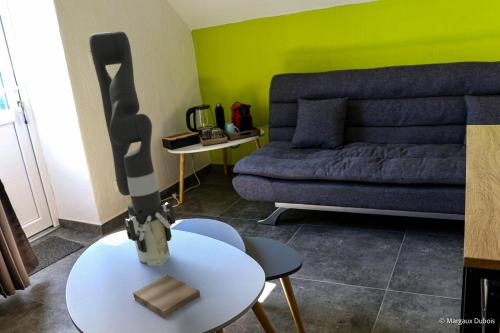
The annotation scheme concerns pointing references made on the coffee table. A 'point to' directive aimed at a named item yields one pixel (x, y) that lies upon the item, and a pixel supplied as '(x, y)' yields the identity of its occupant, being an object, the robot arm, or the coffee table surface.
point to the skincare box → (156, 243)
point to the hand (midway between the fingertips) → (156, 245)
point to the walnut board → (166, 295)
